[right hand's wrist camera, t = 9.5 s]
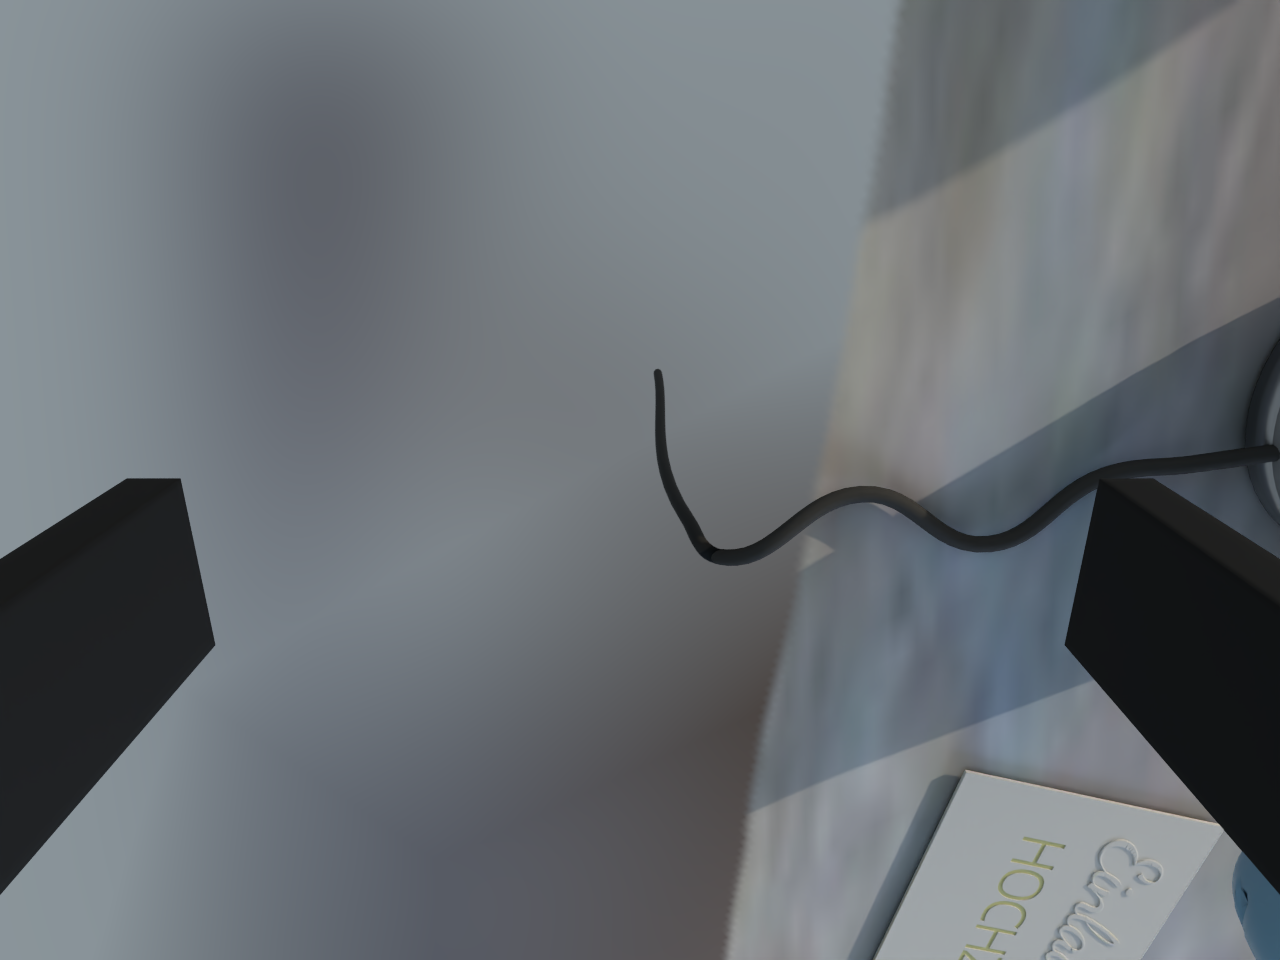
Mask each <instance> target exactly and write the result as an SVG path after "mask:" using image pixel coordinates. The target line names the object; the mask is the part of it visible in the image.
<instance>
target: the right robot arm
mask: <svg viewBox="0 0 1280 960" xmlns="http://www.w3.org/2000/svg"><path fill="white" fill-rule="evenodd" d="M654 380H655V399H656V400H655V446H656V456H657V463H658V468H659V473H660V476H661V480H662V483H663V486H664V489H665V492H666V494H667V496H668V498H669V501H670V503H671V505H672V507H673V509H674V510H675V512H676V514H677V516H678V517H679V519H680V521H681V523H682V524H683V526H684V528H685V530H686V532H687V535H688V537H689V539H690V541H691V543H692V545H693V546H694V548H695V549H696V551H697V552H698V553H699V555H700V556H702V557H703V558H704V559H706V560H707V561H709V562H712V563H715V564H719V565H726V566H737V565H743V564H749V563H752V562H754V561H757V560H760V559H762V558H764V557H765V556H767V555H769V554H771V553H773V552H774V551H775V550H777V549H779V548H780V547H781V546H783V545H784V544H785V543H787V542H788V541H789V540H791V539H792V538H793V537H794V536H796V535H797V534H798V533H800V532H801V531H802V530H803V529H805V528H806V527H807V526H809V525H810V524H811V523H813V522H814V521H815V520H817V519H818V518H820V517H821V516H823V515H825V514H826V513H828V512H830V511H832V510H834V509H837V508H839V507H842V506H845V505H848V504H853V503H860V502H873V503H878V504H883V505H886V506H888V507H891V508H893V509H895V510H897V511H898V512H900V513H902V514H903V515H905V516H906V517H908V518H909V519H911V520H912V521H913V522H915V523H916V524H917V525H919V526H920V527H921V528H923V529H924V530H925V531H927V532H928V533H929V534H931V535H932V536H934V537H935V538H937V539H938V540H940V541H942V542H944V543H946V544H948V545H950V546H952V547H955V548H958V549H961V550H966V551H972V552H994V551H1000V550H1005V549H1008V548H1011V547H1014V546H1016V545H1018V544H1020V543H1022V542H1024V541H1026V540H1028V539H1029V538H1031V537H1033V536H1034V535H1036V534H1037V533H1038V532H1040V531H1041V530H1042V529H1044V528H1045V527H1046V526H1047V525H1048V524H1050V523H1051V522H1052V521H1053V520H1054V519H1056V518H1057V517H1058V516H1059V515H1060V514H1061V513H1062V512H1064V511H1065V510H1066V509H1067V508H1068V507H1070V506H1071V505H1072V504H1073V503H1075V502H1076V501H1077V500H1079V499H1080V498H1082V497H1083V496H1085V495H1086V494H1088V493H1090V492H1091V491H1093V490H1095V489H1097V493H1096V498H1095V503H1094V507H1093V512H1092V517H1091V522H1090V526H1089V531H1088V536H1087V541H1086V546H1085V550H1084V555H1083V560H1082V565H1081V569H1080V574H1079V579H1078V584H1077V589H1076V593H1075V598H1074V603H1073V608H1072V612H1071V617H1070V622H1069V627H1068V632H1067V636H1066V641H1065V646H1066V647H1067V648H1068V649H1069V651H1070V652H1071V653H1072V654H1073V655H1074V656H1075V658H1076V659H1077V660H1078V661H1079V662H1080V663H1081V665H1082V666H1083V667H1084V668H1085V669H1086V670H1087V672H1088V673H1089V674H1090V675H1091V676H1092V677H1093V678H1094V680H1095V681H1096V682H1097V683H1098V684H1099V685H1100V687H1101V688H1102V689H1103V690H1104V691H1105V692H1106V694H1107V695H1108V696H1109V697H1110V698H1111V699H1112V701H1113V702H1114V703H1115V704H1116V705H1117V706H1118V708H1119V709H1120V710H1121V711H1122V712H1123V713H1124V714H1125V716H1126V717H1127V718H1128V719H1129V720H1130V721H1131V723H1132V724H1133V725H1134V726H1135V727H1136V728H1137V730H1138V731H1139V732H1140V733H1141V734H1142V735H1143V737H1144V738H1145V739H1146V740H1147V741H1148V742H1149V744H1150V745H1151V746H1152V747H1153V748H1154V749H1155V750H1156V752H1157V753H1158V754H1159V755H1160V756H1161V757H1162V759H1163V760H1164V761H1165V762H1166V763H1167V764H1168V766H1169V767H1170V768H1171V769H1172V770H1173V771H1174V773H1175V774H1176V775H1177V776H1178V777H1179V778H1180V780H1181V781H1182V782H1183V783H1184V784H1185V785H1186V786H1187V788H1188V789H1189V790H1190V791H1191V792H1192V793H1193V795H1194V796H1195V797H1196V798H1197V799H1198V800H1199V802H1200V803H1201V804H1202V805H1203V806H1204V807H1205V809H1206V810H1207V811H1208V812H1209V813H1210V814H1211V816H1212V817H1213V818H1214V819H1215V820H1216V821H1217V822H1218V824H1219V825H1220V826H1221V827H1222V828H1223V829H1224V831H1225V832H1226V833H1227V834H1228V835H1229V836H1230V838H1231V839H1232V840H1233V841H1234V842H1235V843H1236V845H1237V846H1238V847H1239V848H1240V849H1241V850H1242V852H1241V854H1240V856H1239V857H1238V860H1237V862H1236V865H1235V869H1234V873H1233V880H1232V889H1233V897H1234V902H1235V909H1236V912H1237V914H1238V917H1239V919H1240V922H1241V924H1242V926H1243V930H1244V932H1245V938H1246V940H1247V942H1248V944H1249V947H1250V949H1251V951H1252V953H1253V955H1254V957H1255V959H1256V960H1280V559H1279V558H1277V557H1276V556H1274V555H1273V554H1271V553H1269V552H1268V551H1266V550H1265V549H1263V548H1262V547H1260V546H1258V545H1257V544H1255V543H1254V542H1252V541H1251V540H1249V539H1247V538H1246V537H1244V536H1243V535H1241V534H1240V533H1238V532H1236V531H1235V530H1233V529H1232V528H1230V527H1229V526H1227V525H1225V524H1224V523H1222V522H1221V521H1219V520H1218V519H1216V518H1214V517H1213V516H1211V515H1210V514H1208V513H1207V512H1205V511H1203V510H1202V509H1200V508H1199V507H1197V506H1196V505H1194V504H1192V503H1191V502H1189V501H1188V500H1186V499H1185V498H1183V497H1181V496H1180V495H1178V494H1177V493H1175V492H1174V491H1172V490H1170V489H1169V488H1167V487H1166V486H1164V485H1163V484H1161V483H1159V482H1158V481H1156V480H1155V479H1128V478H1134V477H1143V476H1157V475H1175V474H1187V473H1195V472H1203V471H1210V470H1217V469H1225V468H1232V467H1239V466H1246V465H1247V466H1248V470H1249V475H1250V478H1251V481H1252V484H1253V487H1254V490H1255V492H1256V494H1257V496H1258V498H1259V500H1260V501H1261V503H1262V505H1263V506H1264V508H1265V509H1266V510H1267V512H1268V513H1269V514H1270V516H1271V517H1272V518H1273V519H1274V520H1275V521H1276V522H1277V523H1278V524H1279V525H1280V340H1279V342H1278V343H1277V345H1276V346H1275V348H1274V350H1273V351H1272V353H1271V355H1270V357H1269V358H1268V360H1267V362H1266V364H1265V366H1264V368H1263V370H1262V373H1261V375H1260V377H1259V380H1258V382H1257V384H1256V387H1255V390H1254V394H1253V397H1252V400H1251V404H1250V408H1249V413H1248V417H1247V426H1246V443H1245V448H1241V449H1234V450H1227V451H1220V452H1213V453H1206V454H1199V455H1192V456H1184V457H1173V458H1157V459H1143V460H1133V461H1127V462H1122V463H1117V464H1113V465H1109V466H1106V467H1103V468H1100V469H1098V470H1096V471H1093V472H1091V473H1088V474H1086V475H1085V476H1083V477H1081V478H1079V479H1077V480H1076V481H1074V482H1073V483H1071V484H1070V485H1068V486H1067V487H1065V488H1064V489H1063V490H1062V491H1060V492H1059V493H1058V494H1056V495H1055V496H1054V497H1053V498H1052V499H1051V500H1049V501H1048V502H1047V503H1046V504H1045V505H1044V506H1043V507H1041V508H1040V509H1039V510H1038V511H1037V512H1036V513H1034V514H1033V515H1032V516H1031V517H1029V518H1028V519H1027V520H1025V521H1024V522H1023V523H1021V524H1020V525H1018V526H1016V527H1014V528H1012V529H1010V530H1008V531H1006V532H1003V533H1000V534H996V535H991V536H971V535H966V534H963V533H961V532H958V531H956V530H954V529H952V528H950V527H949V526H947V525H946V524H944V523H943V522H941V521H940V520H939V519H937V518H936V517H935V516H933V515H932V514H931V513H929V512H928V511H927V510H925V509H924V508H923V507H921V506H920V505H918V504H917V503H916V502H914V501H913V500H911V499H909V498H907V497H906V496H904V495H902V494H900V493H897V492H895V491H892V490H890V489H885V488H880V487H875V486H857V487H850V488H844V489H841V490H838V491H834V492H831V493H829V494H827V495H825V496H823V497H821V498H819V499H817V500H816V501H814V502H812V503H811V504H809V505H807V506H806V507H805V508H803V509H802V510H801V511H799V512H798V513H796V514H795V515H794V516H793V517H791V518H790V519H789V520H788V521H786V522H785V523H784V524H782V525H781V526H780V527H779V528H777V529H776V530H775V531H773V532H772V533H771V534H769V535H768V536H766V537H765V538H763V539H762V540H760V541H758V542H756V543H754V544H752V545H750V546H747V547H744V548H739V549H731V550H725V549H719V548H716V547H714V546H713V545H711V544H710V543H709V542H708V541H707V540H706V538H705V536H704V534H703V532H702V530H701V528H700V526H699V524H698V522H697V521H696V519H695V517H694V516H693V514H692V513H691V511H690V509H689V508H688V506H687V505H686V503H685V501H684V499H683V497H682V495H681V493H680V491H679V489H678V487H677V485H676V482H675V479H674V476H673V473H672V470H671V466H670V461H669V457H668V451H667V443H666V429H665V392H664V381H663V375H662V371H661V370H660V369H655V371H654ZM214 646H215V641H214V636H213V632H212V627H211V622H210V617H209V613H208V608H207V603H206V598H205V593H204V589H203V584H202V579H201V574H200V569H199V565H198V560H197V555H196V550H195V546H194V541H193V536H192V531H191V526H190V522H189V517H188V512H187V507H186V503H185V498H184V493H183V488H182V483H181V479H125V480H124V481H122V482H121V483H119V484H117V485H116V486H114V487H113V488H111V489H110V490H108V491H106V492H105V493H103V494H102V495H100V496H99V497H97V498H95V499H94V500H92V501H91V502H89V503H88V504H86V505H84V506H83V507H81V508H80V509H78V510H77V511H75V512H74V513H72V514H70V515H69V516H67V517H66V518H64V519H62V520H61V521H59V522H58V523H56V524H55V525H53V526H51V527H50V528H48V529H47V530H45V531H44V532H42V533H40V534H39V535H37V536H36V537H34V538H33V539H31V540H29V541H28V542H26V543H25V544H23V545H22V546H20V547H18V548H17V549H15V550H14V551H12V552H11V553H9V554H7V555H6V556H4V557H3V558H1V559H0V894H1V893H2V892H3V891H4V890H5V889H6V887H7V886H8V885H9V884H10V883H11V882H12V880H13V879H14V878H15V877H16V876H17V875H18V873H19V872H20V871H21V870H22V869H23V868H24V867H25V865H26V864H27V863H28V862H29V861H30V860H31V858H32V857H33V856H34V855H35V854H36V853H37V851H38V850H39V849H40V848H41V847H42V846H43V844H44V843H45V842H46V841H47V840H48V839H49V838H50V836H51V835H52V834H53V833H54V832H55V831H56V829H57V828H58V827H59V826H60V825H61V824H62V822H63V821H64V820H65V819H66V818H67V817H68V815H69V814H70V813H71V812H72V811H73V810H74V808H75V807H76V806H77V805H78V804H79V803H80V802H81V800H82V799H83V798H84V797H85V796H86V795H87V793H88V792H89V791H90V790H91V789H92V788H93V786H94V785H95V784H96V783H97V782H98V781H99V779H100V778H101V777H102V776H103V775H104V774H105V772H106V771H107V770H108V769H109V768H110V767H111V766H112V764H113V763H114V762H115V761H116V760H117V759H118V757H119V756H120V755H121V754H122V753H123V752H124V750H125V749H126V748H127V747H128V746H129V745H130V744H131V742H132V741H133V740H134V739H135V738H136V737H137V735H138V734H139V733H140V732H141V731H142V730H143V728H144V727H145V726H146V725H147V724H148V723H149V721H150V720H151V719H152V718H153V717H154V716H155V714H156V713H157V712H158V711H159V710H160V709H161V708H162V706H163V705H164V704H165V703H166V702H167V700H168V699H169V698H170V697H171V696H172V695H173V693H174V692H175V691H176V690H177V689H178V688H179V687H180V685H181V684H182V683H183V682H184V681H185V680H186V678H187V677H188V676H189V675H190V674H191V673H192V672H193V670H194V669H195V668H196V667H197V666H198V664H199V663H200V662H201V661H202V660H203V659H204V658H205V656H206V655H207V654H208V653H209V652H210V651H211V649H212V648H213V647H214Z"/></svg>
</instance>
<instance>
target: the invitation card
mask: <svg viewBox="0 0 1280 960" xmlns="http://www.w3.org/2000/svg"><path fill="white" fill-rule="evenodd" d="M1223 831H1224V829H1223V828H1222V827H1221V826H1220V825H1219V824H1217V823H1212V822H1207V821H1203V820H1198V819H1193V818H1189V817H1184V816H1179V815H1175V814H1170V813H1165V812H1161V811H1156V810H1151V809H1147V808H1142V807H1137V806H1133V805H1128V804H1123V803H1119V802H1114V801H1109V800H1105V799H1100V798H1095V797H1091V796H1086V795H1081V794H1077V793H1072V792H1067V791H1063V790H1058V789H1053V788H1049V787H1044V786H1039V785H1035V784H1030V783H1025V782H1021V781H1016V780H1011V779H1007V778H1002V777H997V776H993V775H988V774H983V773H979V772H974V771H969V770H965V771H964V773H963V775H962V777H961V779H960V781H959V783H958V785H957V787H956V789H955V791H954V793H953V796H952V798H951V800H950V802H949V804H948V806H947V808H946V810H945V812H944V814H943V816H942V818H941V820H940V822H939V824H938V826H937V828H936V831H935V833H934V835H933V837H932V839H931V841H930V843H929V845H928V847H927V849H926V851H925V853H924V855H923V857H922V859H921V861H920V863H919V866H918V868H917V870H916V872H915V874H914V876H913V878H912V880H911V882H910V884H909V886H908V888H907V890H906V892H905V894H904V896H903V898H902V901H901V903H900V905H899V907H898V909H897V911H896V913H895V915H894V917H893V919H892V921H891V923H890V925H889V927H888V929H887V931H886V933H885V936H884V938H883V940H882V942H881V944H880V946H879V948H878V950H877V952H876V954H875V956H874V958H873V960H1141V959H1142V957H1143V956H1144V954H1145V952H1146V951H1147V949H1148V948H1149V946H1150V945H1151V943H1152V942H1153V940H1154V938H1155V937H1156V935H1157V934H1158V932H1159V931H1160V929H1161V928H1162V926H1163V924H1164V923H1165V921H1166V920H1167V918H1168V917H1169V915H1170V914H1171V912H1172V910H1173V909H1174V907H1175V906H1176V904H1177V903H1178V901H1179V899H1180V898H1181V896H1182V895H1183V893H1184V892H1185V890H1186V889H1187V887H1188V885H1189V884H1190V882H1191V881H1192V879H1193V878H1194V876H1195V875H1196V873H1197V871H1198V870H1199V868H1200V867H1201V865H1202V864H1203V862H1204V861H1205V859H1206V857H1207V856H1208V854H1209V853H1210V851H1211V850H1212V848H1213V847H1214V845H1215V843H1216V842H1217V840H1218V839H1219V837H1220V836H1221V834H1222V833H1223Z"/></svg>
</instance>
